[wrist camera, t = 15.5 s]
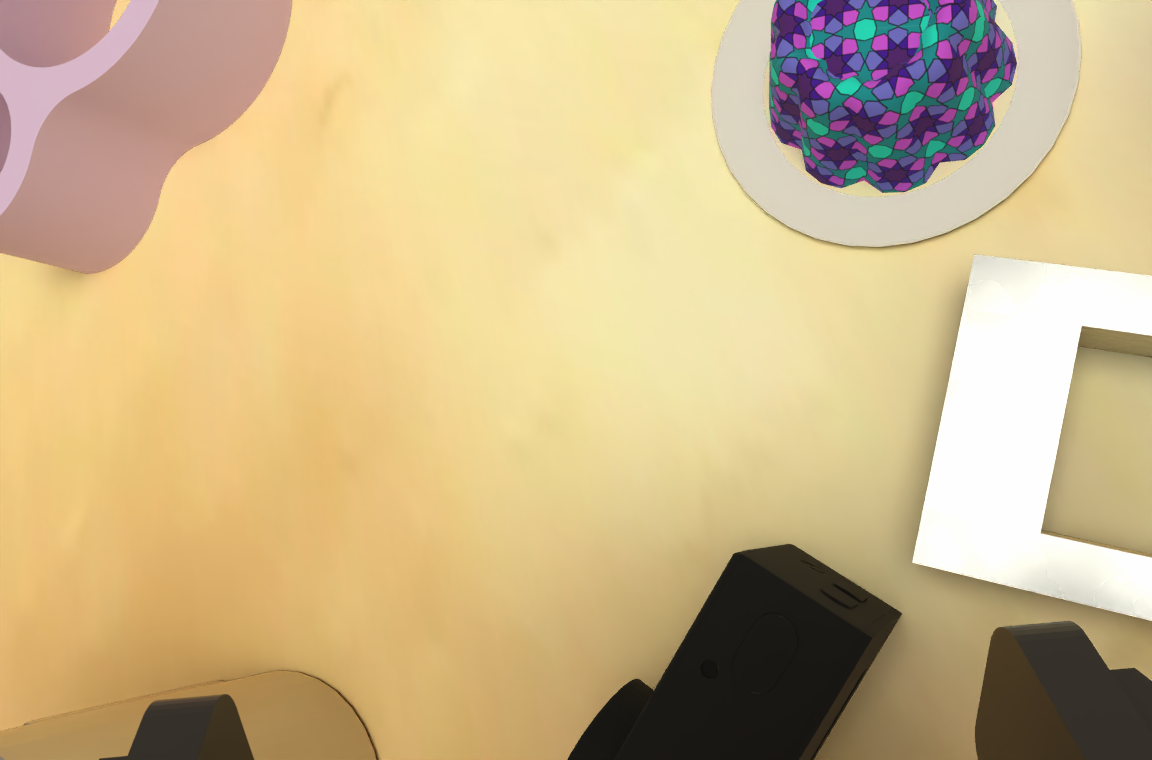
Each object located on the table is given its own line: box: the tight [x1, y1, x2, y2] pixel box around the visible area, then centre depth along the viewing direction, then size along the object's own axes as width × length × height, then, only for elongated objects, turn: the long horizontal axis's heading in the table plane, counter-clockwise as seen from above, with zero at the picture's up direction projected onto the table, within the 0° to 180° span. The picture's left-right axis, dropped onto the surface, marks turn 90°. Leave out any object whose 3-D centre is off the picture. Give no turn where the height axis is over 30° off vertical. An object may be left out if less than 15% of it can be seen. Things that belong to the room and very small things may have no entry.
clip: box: [0, 0, 292, 274], centre depth 46 cm, size 20×12×7 cm, turn 145°
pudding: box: [711, 0, 1082, 247], centre depth 33 cm, size 12×12×5 cm
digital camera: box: [568, 544, 902, 760], centre depth 32 cm, size 10×5×7 cm, turn 148°
